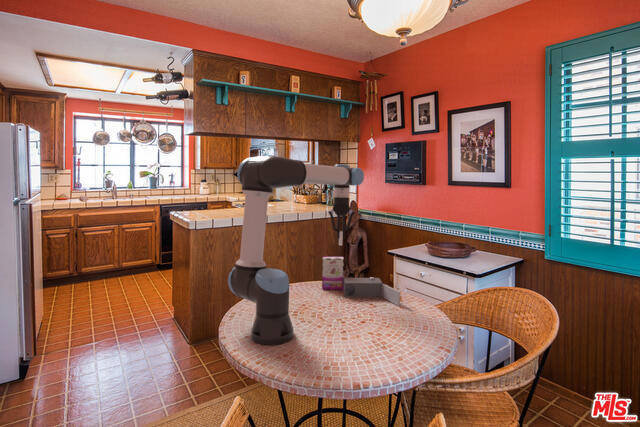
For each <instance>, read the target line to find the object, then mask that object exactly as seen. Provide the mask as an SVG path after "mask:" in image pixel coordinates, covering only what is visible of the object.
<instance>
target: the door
mask: <svg viewBox="0 0 640 427" xmlns="http://www.w3.org/2000/svg"><path fill="white" fill-rule="evenodd" d="M381 298H382V299H384V300H386V301H389V302H391V303H392V304H395V305H396V306H398V307H400V306H401V302H402V300H403V296H402V295H401V291H399V290H397V289H395V288H393V287H391V286H389V285H387V284H386V283H383V284H382V297H381Z"/></svg>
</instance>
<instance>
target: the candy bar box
mask: <svg viewBox="0 0 640 427" xmlns="http://www.w3.org/2000/svg"><path fill="white" fill-rule="evenodd" d="M321 261H322V262H321V263H322V264H321V265H322V266H321V267H322V274H321V275H322V276H321V281H322V282H321V284H322V285H321V289H322V290H325V291H327V290H328V291H330V290H332V291H343V278H345V273H344V272H345V258H344V256H322V260H321Z"/></svg>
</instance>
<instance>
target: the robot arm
mask: <svg viewBox="0 0 640 427" xmlns="http://www.w3.org/2000/svg"><path fill="white" fill-rule="evenodd" d="M236 176H237V180H238V181H239V184H240V185H241V192H242V193H243V195H244V206H243V207H244V208H243V219H242V220H243V221H242V231H241V243H240V254H239V255H240V256H239V259H238V260H236V262H235V265H234V267H232V270H231V271H230V272H229V275H228V279H227V284H228V287H229V289H230V291H231V292H232V294H234V295H236V296H237V297H238V298H240V299H244V300H247V301H249V302H252V303H255V318H254V321H253V324H252V327H251V330H250V338H251V340H252V341H253V342H255V343H257V344H259V345H264V346H278V345H282V344H284V343H287V342H289V341H291V340H292V339H293V338H294V332H295V331H294V330H295V329H294V326H293V323H292V320H291V317H290V281H289V280H290V279H289V276H288V274H287V273H286V272H285V271H284V270H281V269H277V268H267V264H266V262H265V261H264V248H265V238H266V236H265V235H266V225H267V216H268V215H267V213H268V204H269V203H268V202H269V198H270V197H271V196H272V195H273V193H274V192H273V191H274V189H280V188H286V187H301V186H302V185H303V184H305V185H324V186H326V185H329V186H330V185H331V186H333V196H334V197H333V206H332V209H329V210H328V211H327V212H328V215H329V216H330V220H331V224H332V225H331V226H332V229H333V231H334V232H336V238H337V239H338V246H343V240H344V239H345V238H346V232H347V231H349V230H350V227H351V223H352V218H353V217H354V214H355V212H356V211H354V210H352V209H351V206H350V188H351V186H361V185H362V184H363V182H364V179H365V174H364V171H363V169H362V168H360V167H350V165H349V164H341V163H339V164H334V166H333V165H324V164H313V163H305V162H303V161H302V160H300V159H292V158H288V157H287V158H286V157H283V156H276V155H270V156H251V157H247V158H245V159H244V160H243V161H242V162H240V164H239V166H238V169H237V175H236ZM334 213H335V215H336V224H335V219H334ZM348 214H349V216H348V220H347V224H346V216H347V215H348ZM341 216H342V217H341ZM341 218H342V224H341ZM341 225H342V226H341ZM341 228H342V229H341Z"/></svg>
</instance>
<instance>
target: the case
mask: <svg viewBox="0 0 640 427" xmlns="http://www.w3.org/2000/svg"><path fill="white" fill-rule="evenodd" d="M383 284H384V283H383V282H382V280H381V279H380V277H373V276H372V277H371V276H370V277H344V278H343V290H342V292H343V296H344V298H382V289H383Z"/></svg>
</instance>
